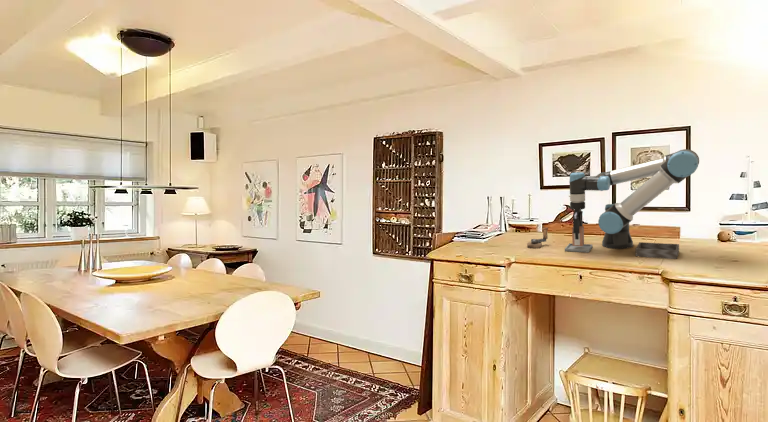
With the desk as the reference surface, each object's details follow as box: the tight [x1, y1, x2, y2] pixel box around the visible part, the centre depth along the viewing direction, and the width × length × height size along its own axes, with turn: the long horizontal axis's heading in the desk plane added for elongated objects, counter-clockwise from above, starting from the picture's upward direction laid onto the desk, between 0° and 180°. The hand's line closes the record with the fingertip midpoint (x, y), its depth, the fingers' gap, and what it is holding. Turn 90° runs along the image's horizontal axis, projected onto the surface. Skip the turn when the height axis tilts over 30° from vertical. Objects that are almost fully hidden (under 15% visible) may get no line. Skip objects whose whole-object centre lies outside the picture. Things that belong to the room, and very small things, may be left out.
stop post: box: [571, 225, 585, 246], centre depth 260 cm, size 5×5×10 cm
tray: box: [564, 242, 593, 253], centre depth 261 cm, size 12×12×2 cm
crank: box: [530, 227, 549, 243], centre depth 275 cm, size 10×4×8 cm, turn 102°
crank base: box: [526, 241, 543, 249], centre depth 275 cm, size 8×8×2 cm
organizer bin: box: [635, 241, 680, 260], centre depth 239 cm, size 18×14×4 cm
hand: (578, 243), depth 261 cm, fingers closed on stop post, 5 cm apart
